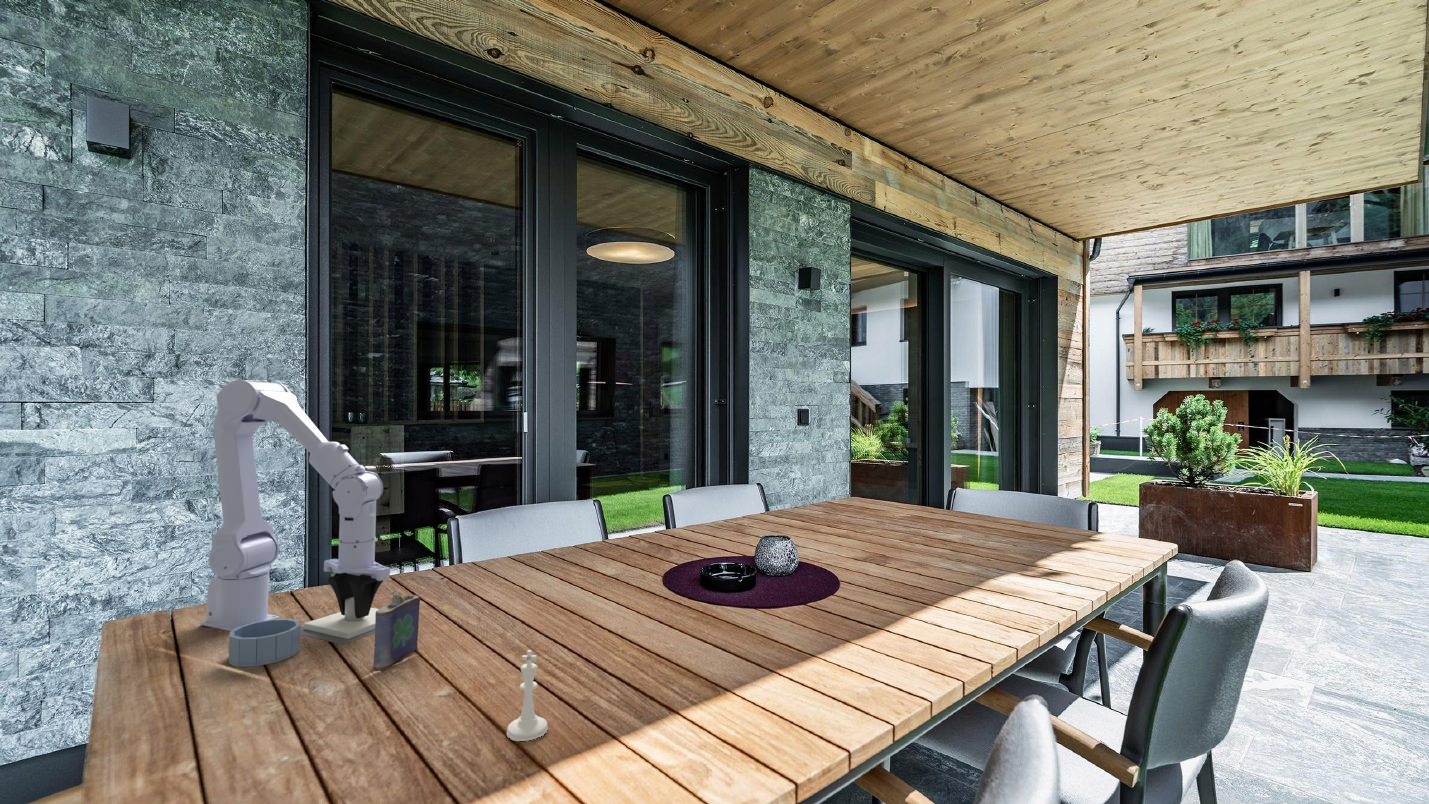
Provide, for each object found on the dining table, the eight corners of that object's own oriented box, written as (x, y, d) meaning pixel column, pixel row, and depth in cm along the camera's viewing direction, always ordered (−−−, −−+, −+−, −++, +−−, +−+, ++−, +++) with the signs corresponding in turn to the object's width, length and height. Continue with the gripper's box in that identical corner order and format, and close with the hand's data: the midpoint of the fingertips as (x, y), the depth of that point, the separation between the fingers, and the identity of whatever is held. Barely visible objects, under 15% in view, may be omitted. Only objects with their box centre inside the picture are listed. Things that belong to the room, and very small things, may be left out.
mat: (286, 633, 107) (286, 631, 107) (364, 608, 121) (364, 606, 121) (342, 646, 102) (343, 644, 102) (417, 619, 116) (417, 617, 116)
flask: (384, 672, 93) (386, 600, 93) (366, 670, 93) (368, 599, 93) (422, 649, 102) (423, 584, 102) (405, 648, 102) (407, 583, 103)
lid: (304, 628, 109) (304, 603, 109) (360, 610, 119) (361, 587, 119) (347, 638, 105) (348, 612, 105) (402, 619, 115) (403, 594, 115)
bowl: (214, 662, 95) (216, 633, 95) (275, 642, 103) (276, 615, 103) (252, 673, 91) (253, 642, 92) (312, 651, 100) (312, 623, 100)
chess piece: (512, 721, 79) (514, 643, 79) (551, 721, 80) (553, 643, 80) (502, 742, 74) (504, 659, 74) (543, 741, 75) (545, 658, 75)
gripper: (308, 540, 111) (306, 615, 111) (365, 548, 106) (363, 628, 105) (345, 533, 117) (342, 604, 117) (400, 540, 112) (398, 615, 112)
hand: (354, 615), depth 112 cm, fingers closed on lid, 3 cm apart
